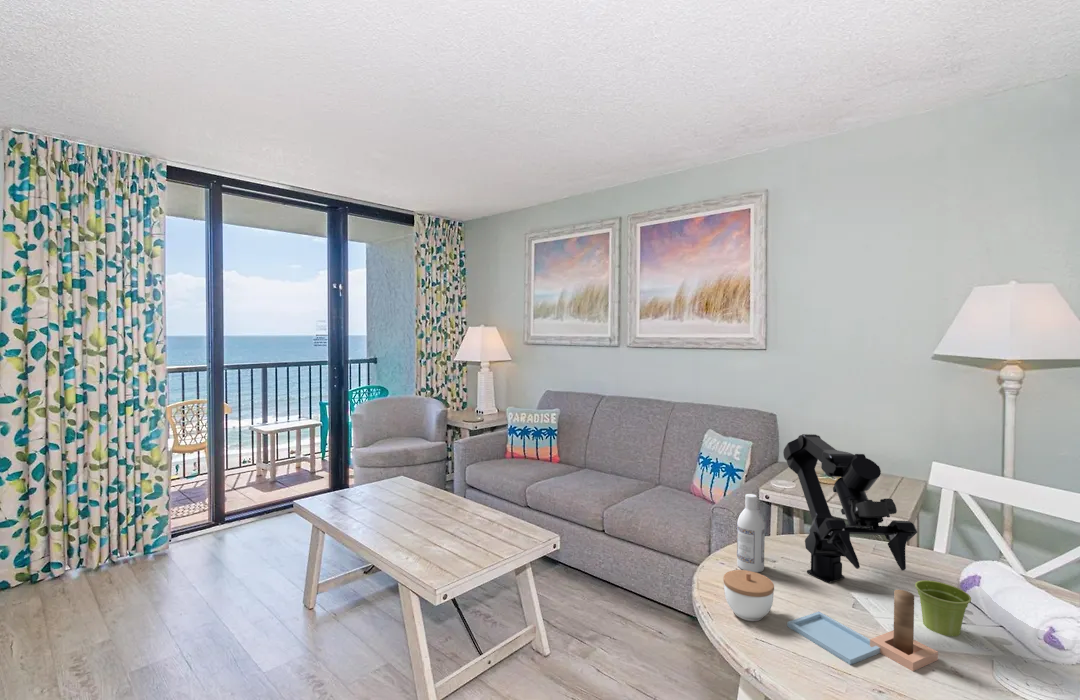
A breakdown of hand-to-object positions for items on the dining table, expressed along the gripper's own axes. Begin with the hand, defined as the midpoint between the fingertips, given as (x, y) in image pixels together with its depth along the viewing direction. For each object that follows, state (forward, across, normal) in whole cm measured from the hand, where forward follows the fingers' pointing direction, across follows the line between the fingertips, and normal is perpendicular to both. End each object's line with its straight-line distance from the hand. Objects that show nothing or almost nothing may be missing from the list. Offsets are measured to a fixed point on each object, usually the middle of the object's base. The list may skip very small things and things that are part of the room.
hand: (880, 569), depth 107 cm
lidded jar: (+6, -26, +13) cm, 30 cm away
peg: (+15, 0, +4) cm, 15 cm away
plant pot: (+8, +14, +11) cm, 20 cm away
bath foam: (-11, -18, +30) cm, 37 cm away
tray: (+13, -12, +7) cm, 18 cm away
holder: (+16, 0, +4) cm, 16 cm away
